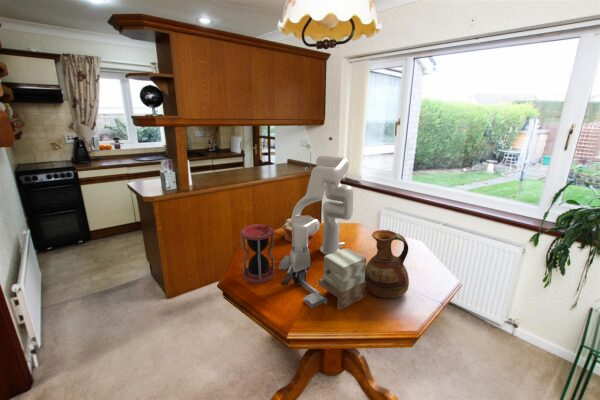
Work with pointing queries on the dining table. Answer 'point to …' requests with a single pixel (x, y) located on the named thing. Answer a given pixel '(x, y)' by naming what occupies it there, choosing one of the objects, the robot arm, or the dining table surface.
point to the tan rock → (288, 230)
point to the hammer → (302, 282)
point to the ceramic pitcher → (387, 267)
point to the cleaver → (285, 266)
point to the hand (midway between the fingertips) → (299, 280)
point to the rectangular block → (313, 300)
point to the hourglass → (258, 253)
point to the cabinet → (344, 276)
